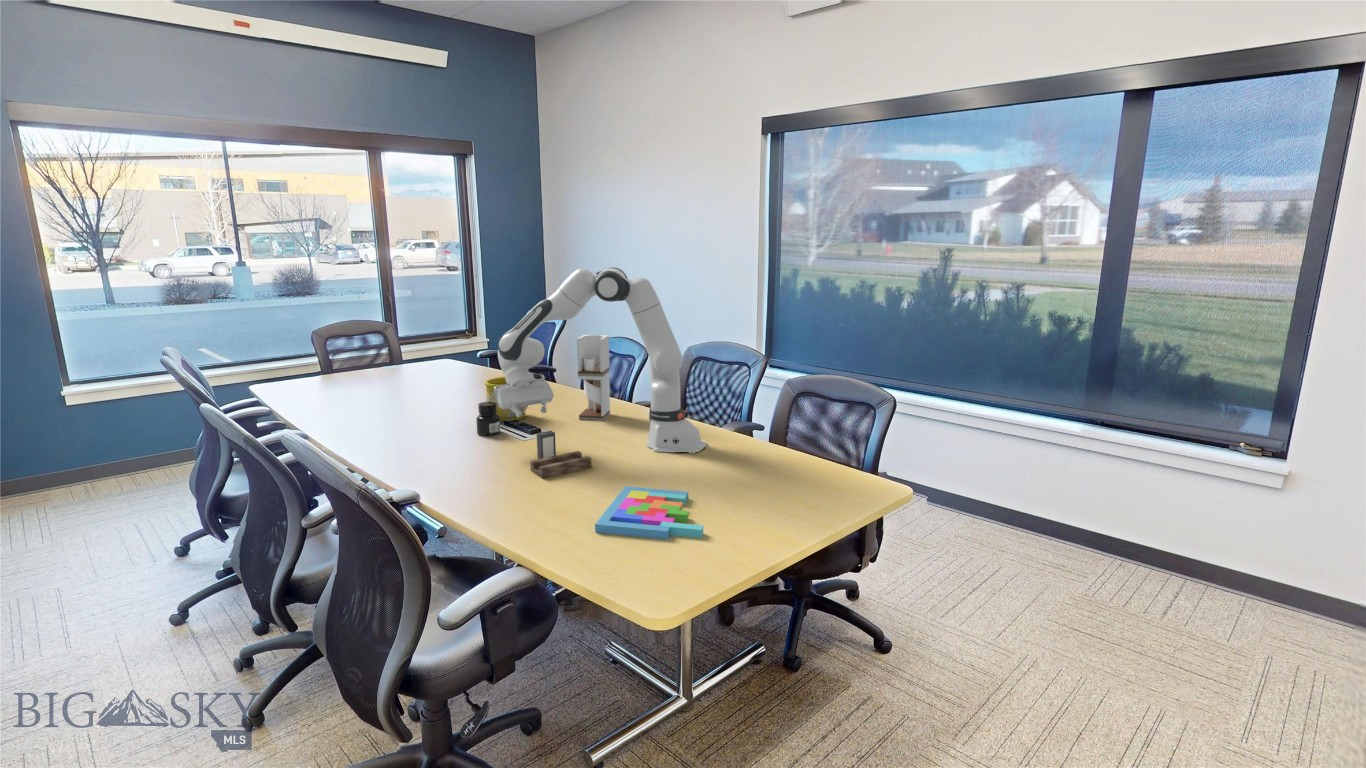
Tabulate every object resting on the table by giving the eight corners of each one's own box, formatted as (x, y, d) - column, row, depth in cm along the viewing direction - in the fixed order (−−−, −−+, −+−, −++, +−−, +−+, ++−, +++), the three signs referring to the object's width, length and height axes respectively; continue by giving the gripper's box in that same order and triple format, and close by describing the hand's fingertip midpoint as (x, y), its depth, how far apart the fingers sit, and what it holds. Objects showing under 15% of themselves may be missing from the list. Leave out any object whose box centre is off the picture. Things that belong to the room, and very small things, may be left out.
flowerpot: (524, 424, 274) (522, 385, 271) (481, 423, 275) (478, 385, 271) (534, 412, 292) (532, 376, 289) (493, 412, 292) (491, 376, 289)
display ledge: (578, 460, 230) (578, 450, 229) (591, 467, 223) (591, 457, 222) (530, 470, 220) (530, 460, 219) (542, 478, 213) (542, 468, 212)
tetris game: (595, 534, 174) (699, 544, 169) (595, 524, 174) (699, 534, 168) (625, 494, 201) (716, 503, 196) (625, 486, 201) (716, 494, 195)
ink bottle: (496, 436, 257) (494, 406, 254) (473, 436, 257) (471, 406, 254) (503, 429, 266) (502, 400, 264) (481, 429, 266) (480, 400, 264)
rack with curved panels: (586, 413, 292) (584, 334, 285) (610, 414, 291) (608, 335, 284) (579, 419, 281) (577, 338, 274) (603, 421, 280) (601, 339, 272)
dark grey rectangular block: (537, 460, 229) (536, 433, 227) (552, 457, 233) (551, 430, 231) (541, 463, 227) (540, 435, 225) (556, 460, 230) (555, 432, 228)
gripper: (494, 381, 232) (506, 413, 227) (547, 374, 245) (560, 405, 239) (490, 391, 237) (502, 423, 231) (542, 383, 249) (555, 414, 243)
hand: (532, 414), depth 235 cm, fingers open, 8 cm apart
